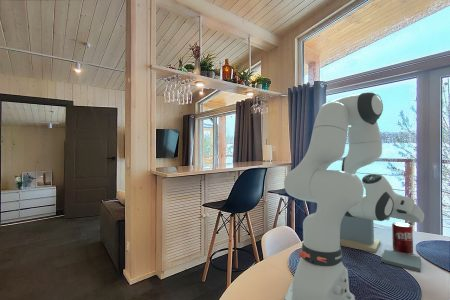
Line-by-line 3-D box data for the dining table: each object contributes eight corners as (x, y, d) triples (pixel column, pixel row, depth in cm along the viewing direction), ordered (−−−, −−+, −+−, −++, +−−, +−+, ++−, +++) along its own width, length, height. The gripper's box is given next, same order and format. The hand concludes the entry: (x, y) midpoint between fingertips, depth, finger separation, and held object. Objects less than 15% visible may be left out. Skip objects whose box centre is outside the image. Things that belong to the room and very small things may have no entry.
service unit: (375, 252, 101) (374, 212, 101) (332, 243, 113) (331, 207, 113) (380, 243, 112) (379, 206, 112) (340, 235, 123) (339, 202, 124)
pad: (420, 271, 84) (420, 268, 84) (381, 262, 92) (381, 259, 92) (420, 260, 93) (420, 257, 93) (384, 252, 101) (384, 249, 101)
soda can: (417, 254, 98) (416, 226, 98) (400, 255, 98) (399, 226, 99) (404, 247, 105) (404, 221, 106) (389, 248, 106) (388, 222, 106)
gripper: (359, 204, 104) (372, 221, 109) (414, 212, 86) (426, 233, 91) (364, 193, 106) (376, 211, 111) (418, 199, 89) (430, 220, 93)
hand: (399, 221), depth 101 cm, fingers open, 8 cm apart
